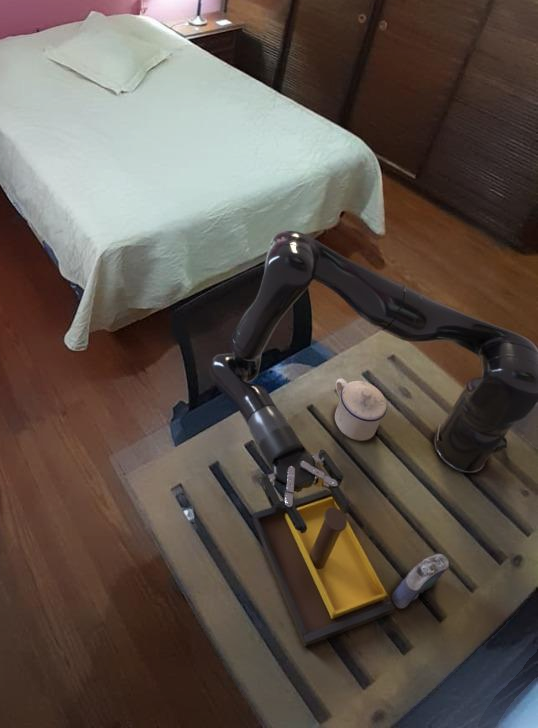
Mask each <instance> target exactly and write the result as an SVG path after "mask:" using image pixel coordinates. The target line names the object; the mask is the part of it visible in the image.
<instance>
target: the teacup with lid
mask: <svg viewBox="0 0 538 728" xmlns="http://www.w3.org/2000/svg"><path fill="white" fill-rule="evenodd" d="M342 386H343V387H342ZM335 389H336V392H337V395H338V396H339V401H338V404H337V406H336V410H335V412H334V420H335V423H336V427H338V429H339V430H340V432H341V433H342V434H343V435H344V436H346V437H347V438H350V439H352V440H355V441H359V442H360V441H361V442H363V441H368V440H370V439H372V438H373V437H374V436H375V434H376V432H377V430H378V428H379V425H380V423H381V421H382V419H383V418H384V417H385V415H386V414H387V410H388V405H387V401H386V398H385V396H384V394H383V393H382V392H381V391H380V390H379V389H378V388H377V387H376V386H375V385H373V384H371V383H370V382H366V381H363V380H354V381H350V382H347V380H345V379H344V378H338V379H337V380H336V381H335Z"/></svg>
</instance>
